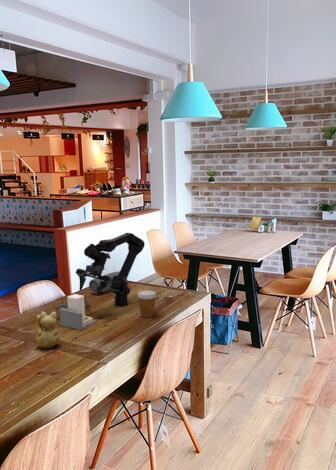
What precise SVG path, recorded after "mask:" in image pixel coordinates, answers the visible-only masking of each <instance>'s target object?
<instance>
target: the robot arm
mask: <svg viewBox="0 0 336 470" xmlns="http://www.w3.org/2000/svg"><path fill="white" fill-rule="evenodd" d="M123 244H127V249H128V252H127V254H126V257H125V259H124V261H123V264H122V266H121V268H120V270H119V272H120V273H119V275H117V276H114V277H113V279H112V278H110V277H108V276H105V275H106V274H104V275H102V273H103V271H104V270H106V269H105V266H106V262H107V261H108V259H111V256H110V253H111V252H113V251H115V250H116V248H117V247H118V246H120V245H123ZM144 248H145V241H144V240H143V239H142V238H140V237H138V236H136V235H135V234H134V233H132V232H125V233H123V234H120V235H119V236H116V237H113V238H109V239H102V240H100V241H99V242H98V243H97V244H96V245H95V244H94V243H90V244H89V245H88V246H86V247H85V249H84V251H83V254H84V256H86V257H88V258H89V259H91V260H93V262H92V263H91V264H90V265H86V266H85V267H86V268H85V269H82V268H77V269H76V271H75V274H76V275H77V276H78V278H79V291H82V290H83V287H84V285H85V283H86V280H87V277H89V278H92V279H99V280H102V281H100V285H99V288H98V290H97V292H96V293H95V295H96V296H98V295H100V293H101V291H102V290H103V289H104V288H105V287H106V286H109V284H110V286H111V289H112V290H111V292H112V294H114V296H113V303H114V305H115V306H116V307H122V306H123V307H124V306H128V305H129V303H128V302H129V301H128V300H129V299H128V295H129V294H130V293H131V289H130V288H129V286H128V283H129V282H128V277H129V274H130V272H131V270H132V268H133V266H134V262H135V260H136V258H137V256H138V255H139V254H140V253H141V252H142V251H143V249H144Z"/></svg>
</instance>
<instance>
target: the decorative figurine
mask: <svg viewBox="0 0 336 470" xmlns="http://www.w3.org/2000/svg"><path fill="white" fill-rule="evenodd" d="M57 322H58V320H57V312H56V311H52V312H50V314H47V312H45V311H41V313H40V314H37V315H36V326H35V327H36V333H37V334H36V337H35V341H36V344H37V345H36V346H38V347H39V349H42V350H43V349H52V348H53V347H54V346H55V345H58V344H59V341H60V338H61V337H60V334H59V333H60V332H59V329H58V328H57V327H56V325H57Z"/></svg>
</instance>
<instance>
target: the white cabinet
mask: <svg viewBox="0 0 336 470" xmlns="http://www.w3.org/2000/svg"><path fill="white" fill-rule="evenodd" d="M66 300H67V303H68V310H72V311H77V312H81V313H82V322H83V321H85V316H86V309H85V305H84V295H81V294H77V293H74V294H71V295H68V296H67V297H66Z"/></svg>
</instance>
